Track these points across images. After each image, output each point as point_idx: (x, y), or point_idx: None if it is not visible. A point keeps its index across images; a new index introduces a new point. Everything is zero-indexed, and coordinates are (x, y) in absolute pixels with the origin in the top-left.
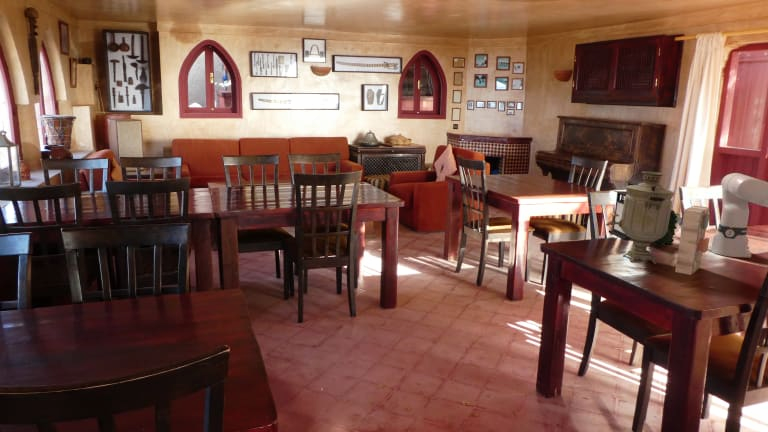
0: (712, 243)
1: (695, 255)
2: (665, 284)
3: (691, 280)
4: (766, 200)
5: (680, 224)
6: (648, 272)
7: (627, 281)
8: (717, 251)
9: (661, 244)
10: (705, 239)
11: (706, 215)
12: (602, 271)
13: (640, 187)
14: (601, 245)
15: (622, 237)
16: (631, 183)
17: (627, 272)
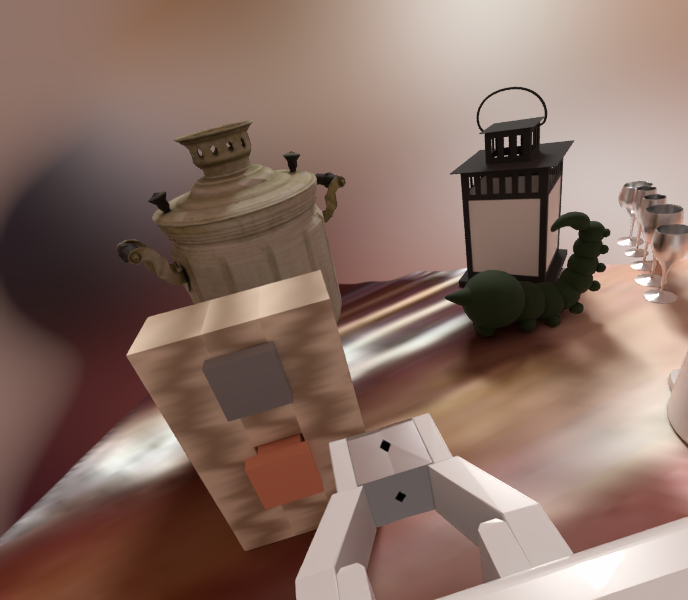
0: (682, 366)
1: (251, 497)
2: (55, 577)
3: (166, 597)
4: (429, 421)
5: (653, 250)
6: (179, 472)
7: (39, 503)
8: (673, 411)
9: (485, 330)
10: (257, 460)
11: (227, 359)
12: (113, 427)
13: (186, 193)
14: (354, 306)
15: (461, 278)
16: (494, 126)
17: (140, 452)
